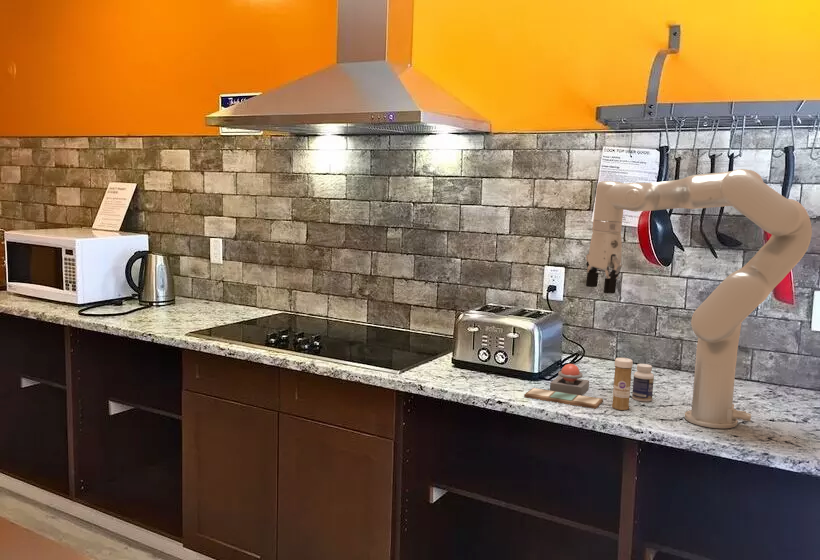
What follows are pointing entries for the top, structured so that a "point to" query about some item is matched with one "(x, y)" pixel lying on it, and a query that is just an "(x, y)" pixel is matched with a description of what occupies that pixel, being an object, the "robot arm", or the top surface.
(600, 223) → the robot arm
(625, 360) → the sprinkles bottle
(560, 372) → the dome button
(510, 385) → the top surface
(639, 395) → the pill bottle
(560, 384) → the button housing
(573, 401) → the board
